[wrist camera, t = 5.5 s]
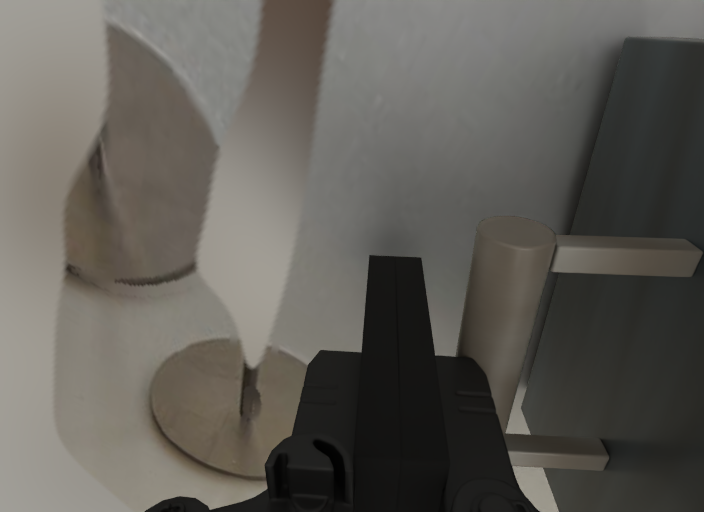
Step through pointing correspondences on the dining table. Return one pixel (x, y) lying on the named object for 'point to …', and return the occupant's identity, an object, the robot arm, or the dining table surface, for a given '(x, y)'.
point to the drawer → (610, 303)
